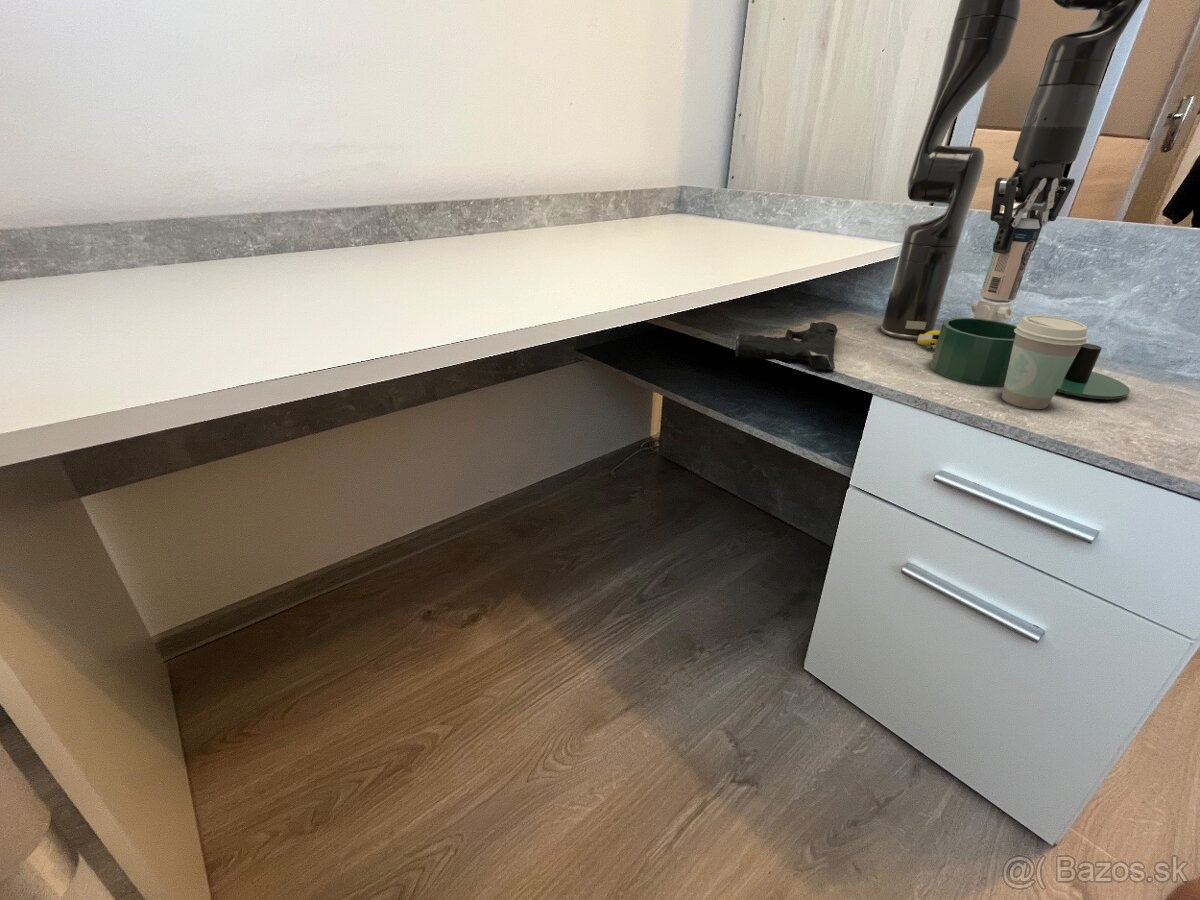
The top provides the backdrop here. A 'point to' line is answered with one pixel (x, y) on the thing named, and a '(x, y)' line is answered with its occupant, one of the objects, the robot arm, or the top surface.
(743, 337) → the handgun
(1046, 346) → the coffee cup
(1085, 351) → the lid
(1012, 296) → the beer can
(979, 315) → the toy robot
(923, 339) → the yellow curved piece
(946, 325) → the pot
